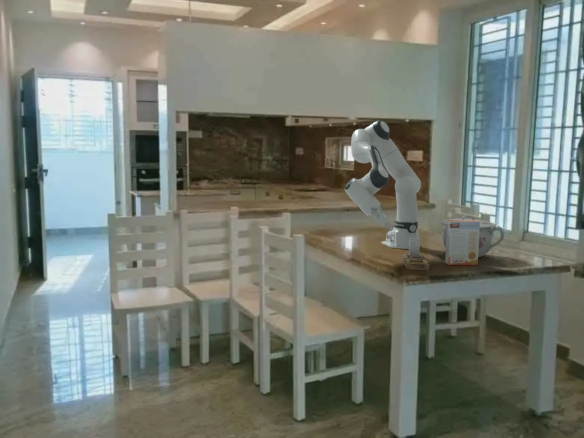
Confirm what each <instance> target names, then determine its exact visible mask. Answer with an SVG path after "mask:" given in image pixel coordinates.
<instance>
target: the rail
mask: <svg viewBox="0 0 584 438" xmlns="http://www.w3.org/2000/svg"><path fill="white" fill-rule="evenodd" d="M408 254H409V253H401V261H402V263H403V265H404V267H405V270H408V271H409V270H410V271H411V270H413V271H415V270H416V271H430V267H431V266H430V265H431V264H430V263H429V262H428V260H427V259H426V257H425V255H424V254H420V253H419V258H408Z"/></svg>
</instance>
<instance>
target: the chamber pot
mask: <svg viewBox="0 0 584 438" xmlns="http://www.w3.org/2000/svg"><path fill="white" fill-rule="evenodd" d="M447 220H477V221H480V229H479V249H478V258H482V257H484V256H485V255H487V253H488V252H490V251H491V250H492V248H494V247H496V246H498V245H499V244H500V243H502V242H503V241H504V239H505V231H504V229H503V228H502V227H501V226H499V225H498V226H497V224H496V223H494V222H491V221H487V220H482V219H477V218H475V217H474V216H472V215H469V214H468V215H463V216H462V217H460V218H449V219H443V220H441V221H439V223H440V224H441V225H443V226H444V228H443V230H441V231H442V232H441V241H442V245H443V246H444V248H445V249H446V231H447ZM495 231H498V232H500V237H499V239H498V240H497V242H495V243H493V244H492V241H493V237H494V232H495Z"/></svg>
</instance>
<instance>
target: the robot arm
mask: <svg viewBox="0 0 584 438" xmlns="http://www.w3.org/2000/svg"><path fill="white" fill-rule="evenodd" d="M390 135H391V130H390V127H389V125H388V123H386V122H385V121H383V120H381V119H379V120H376V121H374V122H373V123H371V124H370V125H369V126H366V127H365V128H358V129H356V130H354V131H353V133H352V135H351V140H350V144H351V145H350V146H351V155H352V158H353V159H354V161H356V162H358V163H360V164H367V163H370V164H371V169H370V170H369V172H367V174H365V175H364V176H363V177H361V178H359V179H356V178H355V177H353V178H351V179H350V180H349V181H348V182H347V183H346V184H345V186H344V191H345V194H346V195H347V196H348V197H349V198H350V199H351V200H352V202H353V203H354V204H356V205H357V206H358V207H359V209H360V210H361V211H362V212H363V214H364V215H365V216H366V217H369V216H370V217H371V218H373V217H374V219H375V220H376V221H377V222H378V223H379V224H380V226H382V227H385V228H387V229H388V230H389V231H388V232H387V233H386V235H385V240H383V241H381V245H385V246H386V247H388V248H393V249H404V250H409V236H419V231H418V227H419V221H418V214H419V213H418V212H419V211H418V210H419V207H418V202H417V201H418V199H417V193H419V191H420V190H421V187H422V181H421V178H419V177H418V175H417V174H416V172H415V171H414V170H413V168H412V167H411V166H410V165H409V164H408V163H407V161H406V160H405V158H404V156H403V154H402V152H400V150H399V148H398V146H397V145H396V144H395V142H394V141H393V140H392V139H391V138H390ZM390 176H391V177H392V179H393V180H394V181H395V184H394V190H395V199H396V220H394V221H393V223H394V225H392V224H391V223H390V221H389V220H388V218H387V215H386V214H385V212H384V211H383V210H382V207H381V205H382V203H381V202H380V200H378V199H377V198H376V196H374V195H375V194H376V193H377V192H379V191H380V190H381V189H383V188H385V186H387V185H389V181H390ZM419 237H420V236H419Z"/></svg>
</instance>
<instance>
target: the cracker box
mask: <svg viewBox="0 0 584 438" xmlns="http://www.w3.org/2000/svg"><path fill="white" fill-rule="evenodd" d="M446 220H447V219H446ZM477 220H478V219H477ZM477 220H447V231H446V248H445V260H444V263H445V264H446V265H448V266H478V265H479V257H478V249H479V229H480V221H477Z"/></svg>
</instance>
